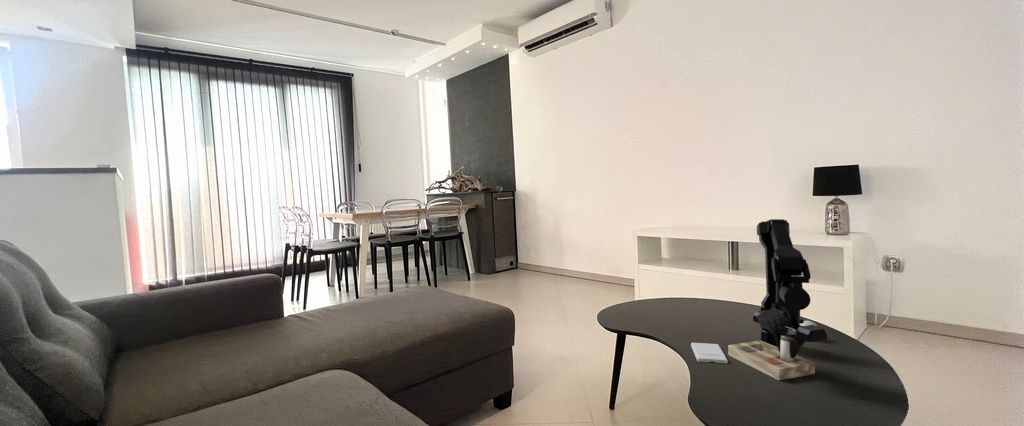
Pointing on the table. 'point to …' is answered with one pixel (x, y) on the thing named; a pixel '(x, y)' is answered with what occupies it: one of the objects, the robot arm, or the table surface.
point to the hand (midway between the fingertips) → (787, 355)
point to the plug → (785, 349)
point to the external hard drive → (708, 353)
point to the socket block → (770, 360)
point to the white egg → (808, 323)
